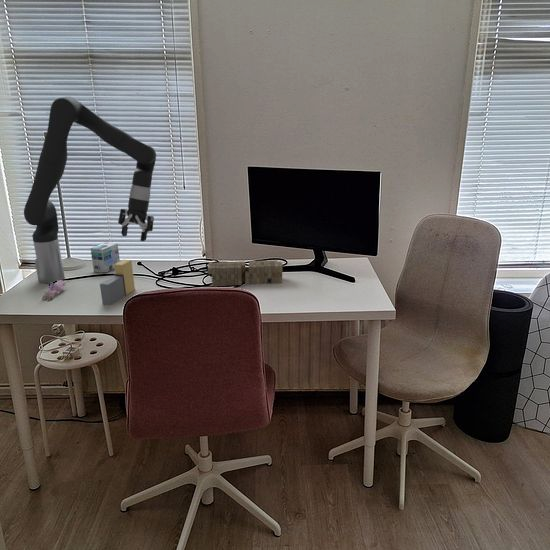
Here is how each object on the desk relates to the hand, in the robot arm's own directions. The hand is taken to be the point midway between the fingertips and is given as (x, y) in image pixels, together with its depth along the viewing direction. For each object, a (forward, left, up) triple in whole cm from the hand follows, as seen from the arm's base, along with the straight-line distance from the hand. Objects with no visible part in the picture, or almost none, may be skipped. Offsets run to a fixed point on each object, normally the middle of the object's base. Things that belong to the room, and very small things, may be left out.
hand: (133, 238), depth 194 cm
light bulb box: (-19, +18, -19) cm, 33 cm away
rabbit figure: (-28, -12, -19) cm, 36 cm away
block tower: (+44, +1, -19) cm, 48 cm away
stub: (-1, -11, -18) cm, 21 cm away
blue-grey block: (-3, -19, -19) cm, 26 cm away
